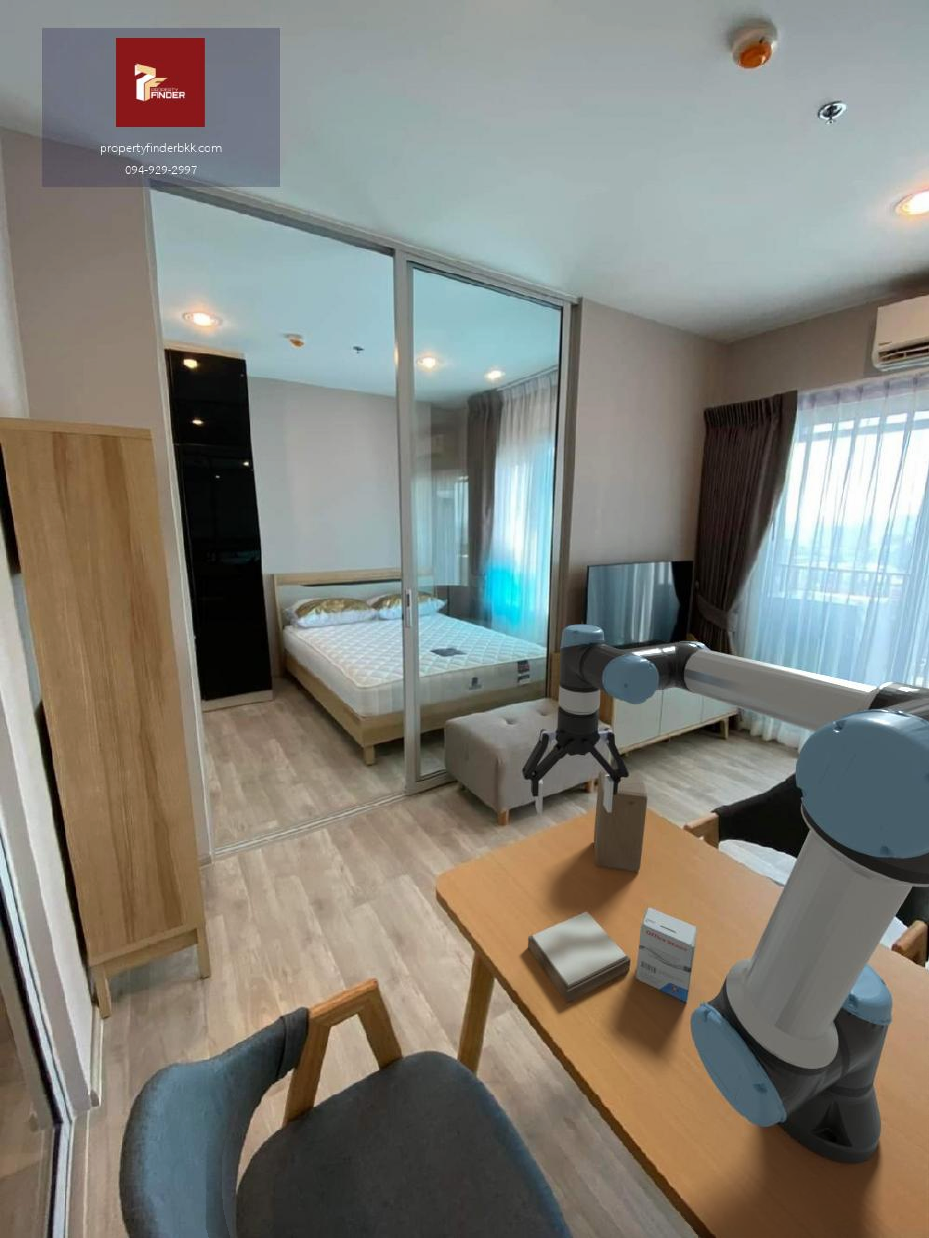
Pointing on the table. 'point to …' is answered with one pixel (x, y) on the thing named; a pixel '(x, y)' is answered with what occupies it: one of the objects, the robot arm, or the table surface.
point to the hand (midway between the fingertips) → (573, 809)
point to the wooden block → (620, 824)
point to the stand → (578, 955)
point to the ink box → (666, 953)
